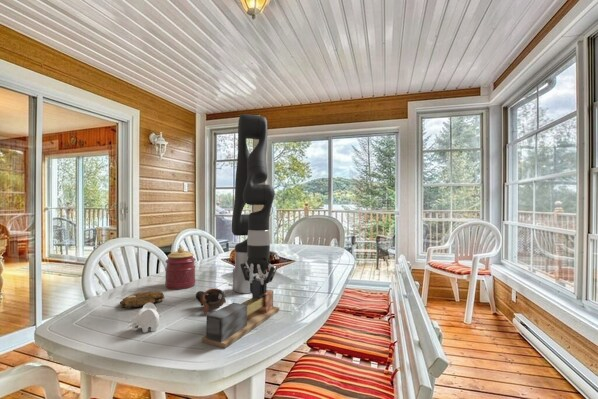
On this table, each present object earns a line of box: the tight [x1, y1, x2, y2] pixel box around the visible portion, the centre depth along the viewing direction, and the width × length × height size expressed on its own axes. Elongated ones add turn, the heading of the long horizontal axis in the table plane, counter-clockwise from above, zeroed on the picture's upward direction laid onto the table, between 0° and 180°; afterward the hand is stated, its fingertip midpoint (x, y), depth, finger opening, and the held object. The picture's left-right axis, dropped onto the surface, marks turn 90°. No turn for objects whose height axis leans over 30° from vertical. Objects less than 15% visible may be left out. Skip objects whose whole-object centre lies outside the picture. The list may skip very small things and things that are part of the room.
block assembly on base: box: [201, 289, 280, 349], centre depth 94 cm, size 30×8×8 cm, turn 155°
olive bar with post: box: [240, 278, 265, 316], centre depth 97 cm, size 18×3×9 cm, turn 155°
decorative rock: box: [119, 291, 165, 309], centre depth 113 cm, size 11×4×15 cm
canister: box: [164, 246, 196, 290], centre depth 137 cm, size 13×13×18 cm
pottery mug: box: [195, 287, 227, 314], centre depth 108 cm, size 12×10×8 cm
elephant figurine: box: [127, 302, 164, 333], centre depth 90 cm, size 8×10×7 cm
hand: (258, 293), depth 101 cm, fingers closed on olive bar with post, 3 cm apart
